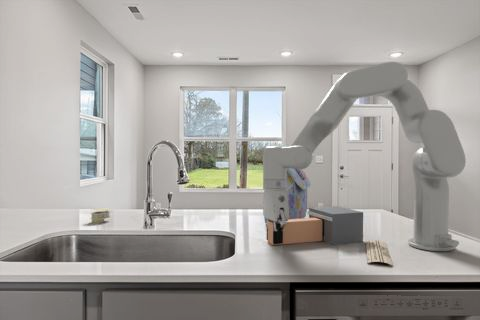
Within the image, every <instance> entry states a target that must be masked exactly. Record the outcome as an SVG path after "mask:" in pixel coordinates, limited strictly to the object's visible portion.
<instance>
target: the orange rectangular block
mask: <svg viewBox="0 0 480 320" xmlns="http://www.w3.org/2000/svg"><path fill="white" fill-rule="evenodd" d="M277 221H280V220H277ZM278 224H280V223H277V225H278ZM273 231H274V221H268V240H267V243H268V244H270V245H271V246H279V245H281V246H282V245H289V244H291V245H292V244H301V243H311V242H322V241H323V237H322V219H319V218H309V217H304V218H302V219H289V220H288V221H286V225H285V226H284V231H283V243H282V244H273Z"/></svg>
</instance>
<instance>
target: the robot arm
mask: <svg viewBox="0 0 480 320" xmlns="http://www.w3.org/2000/svg"><path fill="white" fill-rule="evenodd" d="M408 76H409V73H408V70H407V68H406V66H405V65H403V64H402V63H401V62H397V61H388V62H383V63H379V64H374V65H370V66H367V67H362V68H358V69H354V70H349V71H347V72H345V73H343V75H341V76H340V77H339V78H338V79H337V80H336V81H335V82H334V84H333V85H332V87H331V88H330V90H329V91H328V92H327V94H326V95H325V97H324V98H323V100H322V101H321V103H320V104H319V105H318V106H317V108H316V109H315V111H314V112H313V114H312V115H311V116H310V118H309V120H307V123H306V124H305V126H304V127H303V128H302V130H301V132H300V133H299V134H298V135H297V137H296V138H295V139H294V141H293V142H292V144H291V145H290V146H282V145H281V146H280V145H270V146H265V147H264V149H263V153H262V156H263V157H262V158H263V161H262V163H263V166H262V174H263V176H262V189H263V197H262V199H263V202H262V213H263V217H265V219H266V223H265V227H266V240H267V241H268V221H274V231H273V244H282V243H283V231H284V226H285V225H286V221H288V220H289V206H288V195H287V168H292V169H302V170H304V169H307V168H308V167H310V166H311V164H312V162H313V157H314V156H313V154H314V152H315V151H316V150H317V149H318V146H320V144H321V143H322V142H323V140H325V139H326V138H328V136H330V135H331V134H332V133H333V132H334V131H335V130H336V129H337V128H338V126H339V125H340V123H341V122H342V120H343V119H344V117H345V116H346V115H347V113H348V112H349V111H350V110H351V109H352V107H353V105H354V104H355V102H356V101H357V100H358V99H361V98H362V99H363V98H367V97H371V96H377V97H382V98H385V99H386V100H388V101H389V102H390V103H391V104H392V106H393V107H394V109H395V112H396V113H397V116H398V118H399V121H400V122H399V123H400V124H401V127H402V129H403V132H404V135H405V137H406V138H407V140H408V141H410V142H412V143H414V144H423V146H422V147H420V148H419V149H418V150H416V151H415V152H414V154H413V156H412V159H411V160H412V161H411V167H412V169H411V170H412V175H413V183H414V187H413V188H414V189H413V190H414V191H413V193H414V195H413V196H414V197H413V198H414V199H413V238H409V239H408V241H407V242H408V243H407V244H408V245H409V246H411V247H413V248H416V249H419V250H424V251H425V250H426V251H433V252H451V251H453V250H455V248H457V247H458V246H459V245H460V241H459V240H455V239H452V238H453V237H452V236H453V235H452V234H451V233H449V220H450V219H449V217H450V216H449V212H450V211H449V210H450V187H449V181H448V179H449V178H450V179H451V178H454V177H457V176H459V175H460V174H462V172H463V171H464V169H465V167H466V162H467V161H466V154H465V151H464V149H463V146H462V143H461V140H460V137H459V135H458V132H457V130H456V129H457V128H456V127H455V124H454V122H453V120H452V119H451V118H450V117H449V115H448V114H447V113H445V112H443V111H442V110H439V109H429V107H428V104H427V102H426V99H425V97H424V95H423V94H422V92H421V90H420V89H419V87H418V86H417V85H416V84H415V83H413V82H412V81H411V80H409V79H408ZM265 219H264V220H265ZM277 219H280V221H277ZM277 223H280V224H278V225H277ZM282 245H283V244H282Z"/></svg>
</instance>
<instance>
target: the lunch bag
mask: <svg viewBox="0 0 480 320" xmlns="http://www.w3.org/2000/svg"><path fill="white" fill-rule="evenodd" d="M309 187H311V181H310V180H309V178H308V176H307V175H306V174H305V171H304V169H292V168H287V195H288V206H289V219H302V218H306V216H307V213H308V211H307V210H308V188H309ZM263 217H264V216H263ZM277 220H280V219H277ZM264 223H265V224H266V219H265V217H264Z"/></svg>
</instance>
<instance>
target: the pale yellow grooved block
mask: <svg viewBox="0 0 480 320" xmlns="http://www.w3.org/2000/svg"><path fill="white" fill-rule="evenodd" d="M109 210H110V208H107V207H106V208H105V207H104V208H103V207H102V208H101V207H99V208H94V209H92V212H90V215H91V217H90V218H89V219H90V220H91V223H93V224H99V223H103V222H105V219H110V218H111V216H110V214H111V211H109ZM93 211H94V212H93Z"/></svg>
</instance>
